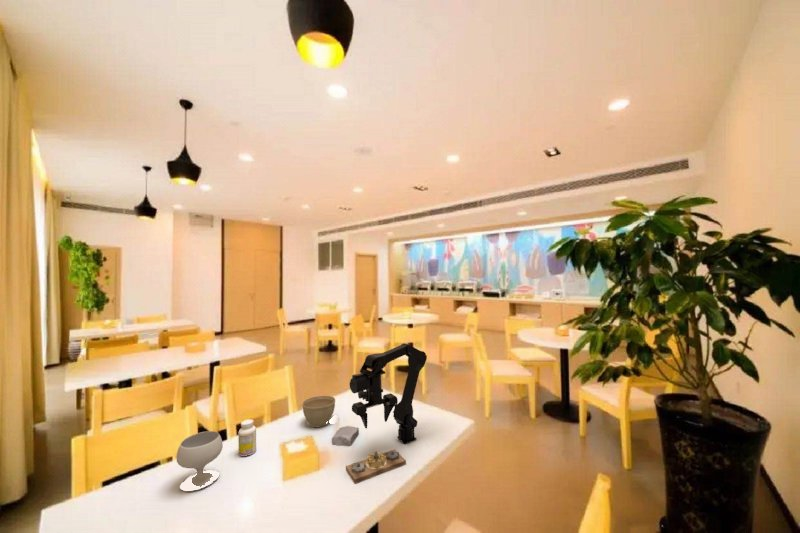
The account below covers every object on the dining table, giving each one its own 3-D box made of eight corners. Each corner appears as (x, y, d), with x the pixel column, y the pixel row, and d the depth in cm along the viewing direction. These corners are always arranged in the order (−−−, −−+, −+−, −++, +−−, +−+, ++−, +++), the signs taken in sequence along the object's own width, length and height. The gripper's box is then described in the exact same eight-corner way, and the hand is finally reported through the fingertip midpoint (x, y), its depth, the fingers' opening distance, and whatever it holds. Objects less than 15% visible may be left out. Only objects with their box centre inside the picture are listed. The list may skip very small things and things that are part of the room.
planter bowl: (342, 420, 155) (342, 398, 155) (318, 434, 141) (317, 410, 141) (320, 413, 163) (320, 393, 164) (295, 426, 150) (295, 403, 150)
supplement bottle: (246, 447, 131) (246, 417, 131) (259, 449, 129) (259, 418, 130) (234, 456, 124) (234, 424, 125) (248, 458, 123) (248, 426, 123)
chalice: (172, 500, 100) (172, 454, 100) (180, 476, 112) (180, 435, 113) (221, 486, 106) (221, 442, 107) (223, 465, 119) (223, 426, 119)
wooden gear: (380, 455, 120) (380, 450, 120) (389, 464, 114) (388, 458, 114) (363, 461, 116) (363, 455, 116) (371, 470, 110) (371, 465, 110)
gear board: (394, 453, 124) (394, 439, 125) (405, 464, 117) (405, 449, 117) (345, 470, 114) (345, 455, 114) (354, 483, 106) (354, 467, 106)
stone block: (330, 449, 131) (352, 446, 130) (328, 438, 132) (349, 435, 130) (341, 436, 143) (360, 434, 141) (339, 426, 143) (358, 423, 142)
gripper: (384, 376, 137) (385, 411, 136) (345, 386, 127) (347, 423, 126) (397, 383, 128) (399, 421, 127) (357, 394, 117) (358, 435, 117)
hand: (375, 424), depth 125 cm, fingers open, 9 cm apart
